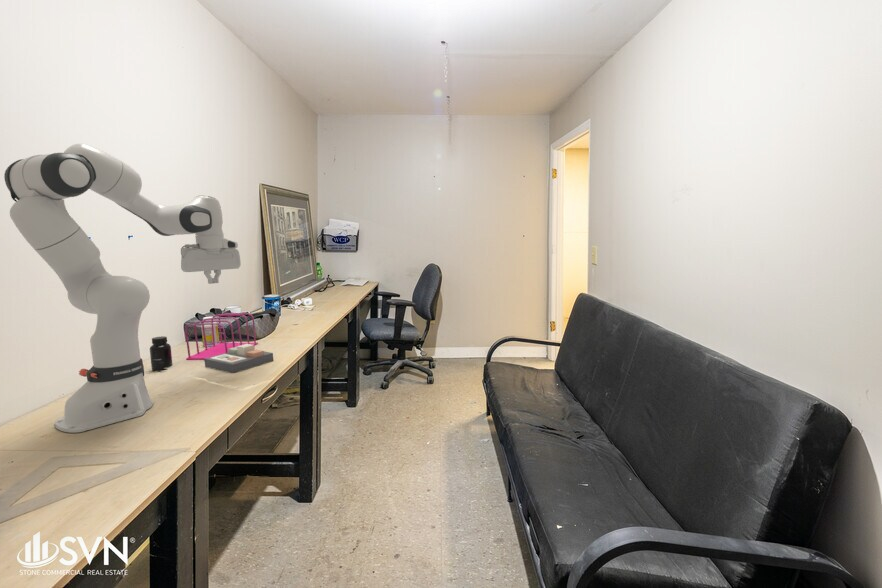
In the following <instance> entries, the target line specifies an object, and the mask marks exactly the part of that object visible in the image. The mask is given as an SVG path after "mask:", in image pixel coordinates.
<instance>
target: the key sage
mask: <svg viewBox="0 0 882 588" xmlns="http://www.w3.org/2000/svg"><path fill="white" fill-rule="evenodd" d="M228 352H229V353H230V354H237V347H234V348H230V349H228Z"/></svg>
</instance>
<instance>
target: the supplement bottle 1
mask: <svg viewBox="0 0 882 588" xmlns="http://www.w3.org/2000/svg"><path fill="white" fill-rule="evenodd" d="M151 344H152V345H151V346H150V347H149V358H150V366H151V370H152V371H153V372H164V371H168V368H170V367H172V366H173V357H172V355H173V354H172V347H171V344H169V343H168V337H167V336H162V335H161V336H156V337H152V338H151Z"/></svg>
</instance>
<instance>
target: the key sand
mask: <svg viewBox="0 0 882 588" xmlns="http://www.w3.org/2000/svg"><path fill="white" fill-rule="evenodd" d="M252 350H255V346H254V345H251V344H244V345H240V346H237V355H240V356H246V352H249V351H252Z"/></svg>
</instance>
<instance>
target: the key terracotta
mask: <svg viewBox="0 0 882 588" xmlns="http://www.w3.org/2000/svg"><path fill="white" fill-rule="evenodd" d="M264 351H265V350H263V349H262V350H261V349H254V350H252V351H249V352H246V357H251V358H256V357H259V356H263V355H264Z"/></svg>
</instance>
